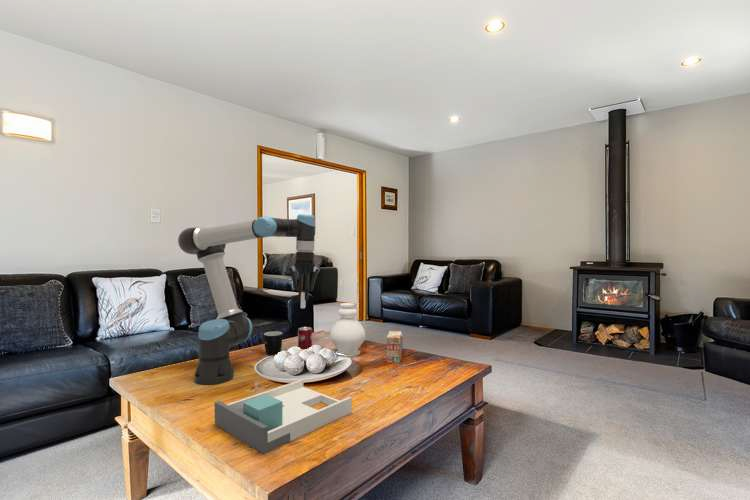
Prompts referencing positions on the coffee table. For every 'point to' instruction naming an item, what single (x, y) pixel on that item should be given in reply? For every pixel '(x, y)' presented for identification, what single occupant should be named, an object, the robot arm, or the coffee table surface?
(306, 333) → the soda can
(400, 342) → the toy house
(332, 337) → the decorative vase
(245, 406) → the block
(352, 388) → the coffee table surface
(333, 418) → the tray
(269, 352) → the mug
